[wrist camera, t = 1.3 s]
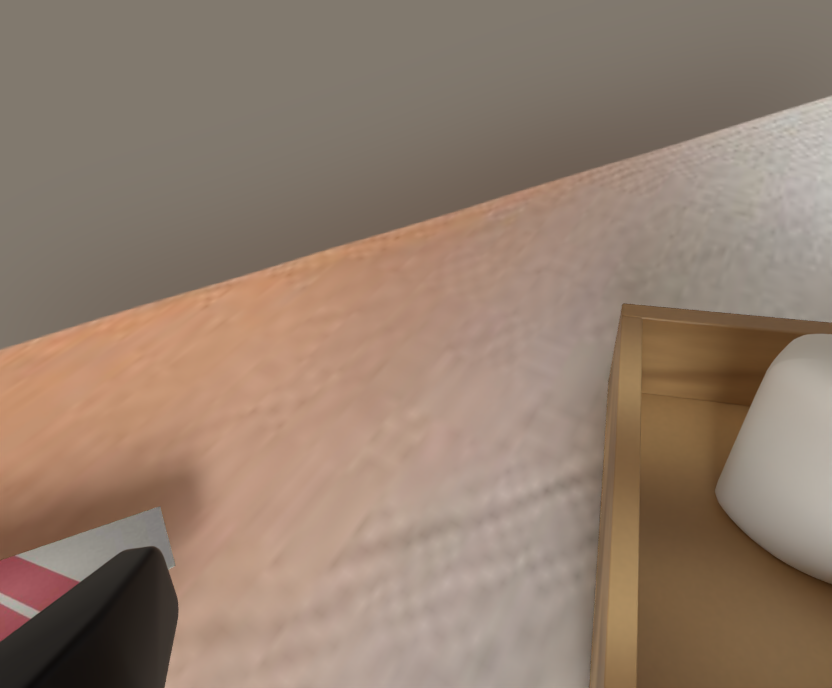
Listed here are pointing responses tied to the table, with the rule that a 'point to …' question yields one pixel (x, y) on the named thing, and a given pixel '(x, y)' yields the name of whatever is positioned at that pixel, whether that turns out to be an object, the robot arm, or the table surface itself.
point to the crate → (694, 517)
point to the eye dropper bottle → (787, 460)
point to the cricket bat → (71, 564)
